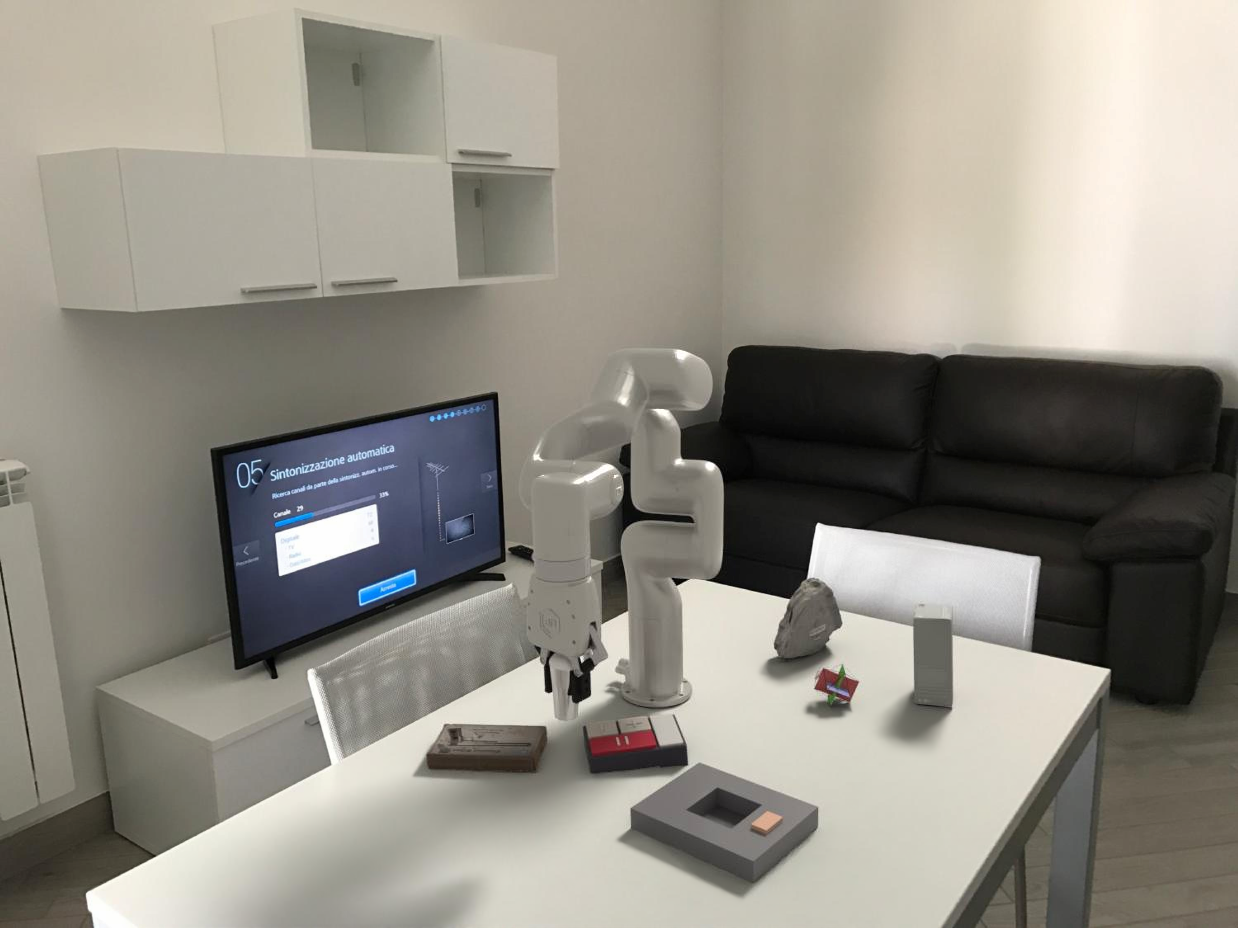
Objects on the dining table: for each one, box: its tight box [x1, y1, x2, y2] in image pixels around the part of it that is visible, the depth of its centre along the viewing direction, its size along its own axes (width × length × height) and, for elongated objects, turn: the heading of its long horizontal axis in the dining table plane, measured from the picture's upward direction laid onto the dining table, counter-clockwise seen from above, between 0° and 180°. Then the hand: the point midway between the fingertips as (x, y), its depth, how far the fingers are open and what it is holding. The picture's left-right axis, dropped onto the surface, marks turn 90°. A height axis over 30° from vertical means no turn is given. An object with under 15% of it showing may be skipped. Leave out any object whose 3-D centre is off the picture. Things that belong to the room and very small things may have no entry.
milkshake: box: [549, 653, 584, 722], centre depth 139 cm, size 5×5×10 cm
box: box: [425, 723, 548, 773], centre depth 163 cm, size 11×17×3 cm, turn 83°
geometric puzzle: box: [813, 663, 860, 708], centre depth 177 cm, size 7×7×8 cm
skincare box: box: [912, 603, 954, 708], centre depth 177 cm, size 8×7×16 cm
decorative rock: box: [773, 577, 843, 659], centre depth 198 cm, size 16×7×15 cm, turn 124°
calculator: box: [582, 713, 689, 775], centre depth 162 cm, size 11×4×15 cm
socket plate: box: [629, 762, 819, 883], centre depth 141 cm, size 20×16×4 cm
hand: (568, 693), depth 140 cm, fingers closed on milkshake, 4 cm apart
